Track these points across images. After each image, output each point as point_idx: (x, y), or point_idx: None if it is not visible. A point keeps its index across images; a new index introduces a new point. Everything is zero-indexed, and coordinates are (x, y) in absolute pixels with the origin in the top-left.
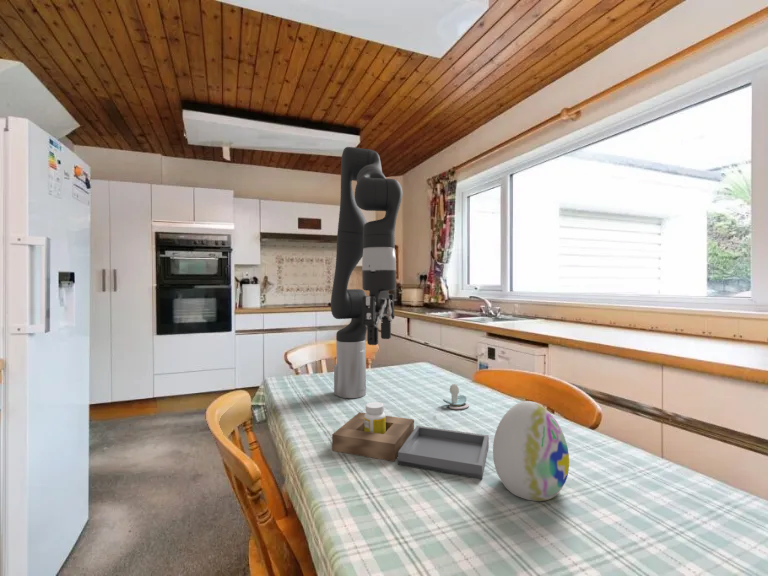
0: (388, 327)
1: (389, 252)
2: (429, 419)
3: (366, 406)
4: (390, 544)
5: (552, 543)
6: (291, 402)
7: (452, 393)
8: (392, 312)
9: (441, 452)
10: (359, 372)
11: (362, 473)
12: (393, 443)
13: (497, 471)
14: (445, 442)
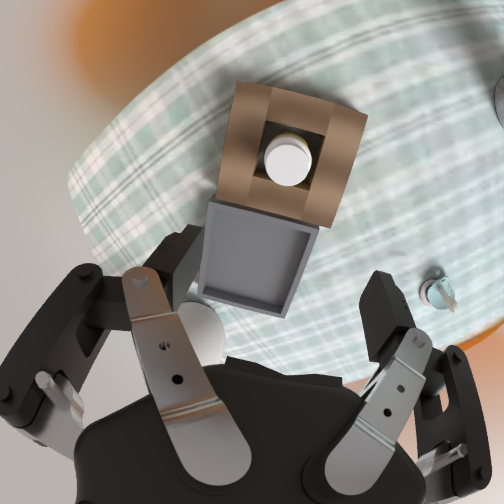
0: (369, 338)
1: None
2: (391, 244)
3: (275, 147)
4: (90, 203)
5: None
6: None
7: (444, 298)
8: (415, 411)
9: (248, 255)
10: None
11: (181, 149)
12: (217, 196)
13: (180, 306)
14: (283, 263)
